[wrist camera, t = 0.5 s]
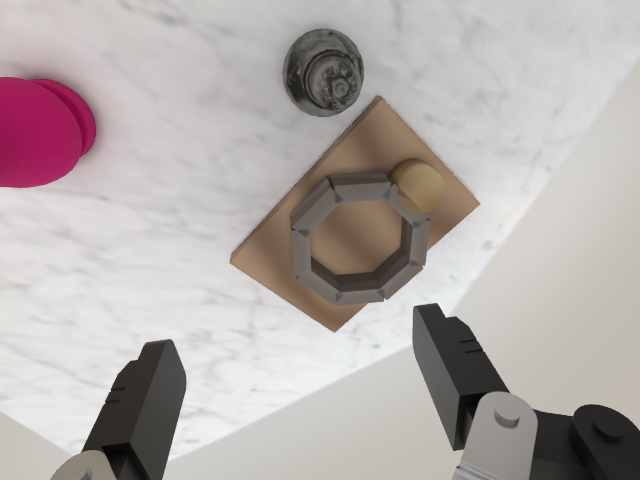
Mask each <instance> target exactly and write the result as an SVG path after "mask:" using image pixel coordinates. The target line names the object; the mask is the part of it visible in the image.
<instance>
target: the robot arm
mask: <svg viewBox="0 0 640 480" xmlns="http://www.w3.org/2000/svg"><path fill="white" fill-rule="evenodd" d="M413 349H414V353H415V357H416V360H417V362H418V365H419V367H420V370H421V372H422V375H423V377H424V380H425V382H426V384H427V387H428V389H429V392H430V394H431V397H432V399H433V402H434V404H435V407H436V409H437V412H438V414H439V417H440V419H441V422H442V424H443V427H444V429H445V432H446V434H447V436H448V439H449V441H450V444H451V447H452V449H453V451H456V450H462V449H464V452H463V455H462V458H461V461H460V464H459V466H457V467H456V469H455V472H454V474H453V478H452V480H640V431H639V429H638V428H637V427H636V426H635V425H634V424H633V423H632V422H631V421H630V420H629V419H628V418H626V417H625V416H624V415H622V414H621V413H619V412H617V411H615V410H613V409H611V408H608V407H605V406H601V405H594V404H593V405H592V404H591V405H590V404H589V405H584V406H581V407H579V408H578V409H577V410H576V411H575V413H574V415H573V416H566V415H560V414H553V413H546V412H541V411H538V410H535V409H532V408H531V407H530V405H529V404H527V403H526V402H525V401H524V400H522V399H521V398H519V397H517V396H515V395H513V394H511V393H510V392H509V390H508V389H507V387H506V386H505V384H504V382H503V381H502V379H501V378H500V376H499V374H498V373H497V371H496V369H495V368H494V366H493V365H492V363H491V362H490V360H489V358H488V357H487V355H486V353H485V352H483V349H482V347H481V346H480V344H479V342H478V341H477V340H476V337H475V336H474V334H473V333H472V331H471V329H470V328H469V326H467V325H466V324H465V323H464V322H462V321H461V320H459V319H458V318H457V317H448V318H446V317H445V315H444V314H443V312H442V310H441V308H440V307H439V305H438V304H437V303H433V304H426V305H419V306H414V308H413ZM185 391H186V374H185V370H184V368H183V365H182V363H181V360H180V358H179V355H178V352H177V350H176V347H175V345H174V343H173V341H172V340H171V339H168V340H160V341H153V342H147V343H146V344H145V345H144V346H143V349H142V351H141V353H140V356H139V358H138V360H134V361H130V362H129V363H128V364H127V365H126V366H125V367H124V368H123V369H122V371H121V372H120V373H119V374H118V375H117V377H116V379H115V382H114V384H113V386H112V388H111V392H109V394H108V396H107V399H106V401H105V404H104V405H103V407H102V409H101V411H100V413H99V416H98V418H97V420H96V422H95V424H94V426H93V428H92V430H91V433H90V435H89V437H88V439H87V441H86V443H85V445H84V447H83V450H82V451H81V453H79V454H77V455H75V456H73V457H72V458H70V459H69V460H68V461H66V462H65V463H64V464H63V465H62V466H61V467H60V468H59V469H58V470H57V471H56V472H55V473H54V475H53V476H52V478H51V480H162V478H163V474H164V470H165V467H166V463H167V459H168V455H169V452H170V448H171V444H172V440H173V436H174V433H175V429H176V425H177V421H178V418H179V414H180V410H181V406H182V402H183V399H184V395H185Z"/></svg>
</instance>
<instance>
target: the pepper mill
mask: <svg viewBox="0 0 640 480" xmlns="http://www.w3.org/2000/svg"><path fill="white" fill-rule="evenodd" d="M95 132H96V131H95V123H94V119H93V116H92V114H91V111H90V110H89V108H88V106H87V105H86V104H85V102H84V101H83V100H82V99H81V98H80V97H79V96H78V95H77V94H76V93H75V92H74V91H72V90H71V89H69V88H68V87H66V86H64V85H62V84H60V83H57V82H54V81H51V80H45V79H34V80H28V81H27V80H24V79H20V78H11V77H0V187H14V188H28V187H35V186H40V185H45V184H48V183H51V182H53V181H55V180H58V179H60V178H61V177H63V176H65V175H66V174H68V173H69V172H70V171H71V170H72V169H73V168H74V166H75V165H76V164H77V162H78V160H79V158H80V157H81V156H83V155H84V154H85V153H86V152H87V151H88V150H89V149H90V148H91V146H92V144H93V142H94V138H95Z"/></svg>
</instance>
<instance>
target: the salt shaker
mask: <svg viewBox="0 0 640 480" xmlns="http://www.w3.org/2000/svg"><path fill="white" fill-rule="evenodd" d="M363 77H364V67H363V62H362V58H361V55H360V53H359V51H358V49H357V47H356V45H355V44H354V43H353V42H352V41H351V40H350V39H349V38H348V37H347V36H345V35H343V34H342V33H340V32H338V31H335V30H331V29H316V30H313V31H310V32H307V33H305V34H304V35H303V36H301V37H300V38H298V39H297V40H296V41H295V43H294V44H293V45H292V46H291V48H290V49H289V51H288V53H287V56H286V58H285V62H284V67H283V80H284V85H285V88H286V91H287V94H288V95H289V97H290V99H291V100H292V102H293V103H294V104H295V105H296V106H297V107H298V108H299V109H300V110H302V111H304V112H306V113H308V114H309V115H313V116H318V117H329V116H333V115H336V114H339V113H341V112H342V111H344V110H345V109H347V108H348V107H350V106H351V105H352V104H353V103H354V102H355V101H356V100H357V98H358V96H359V94H360V90H361V86H362V83H363Z"/></svg>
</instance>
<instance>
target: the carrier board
mask: <svg viewBox="0 0 640 480" xmlns="http://www.w3.org/2000/svg"><path fill="white" fill-rule="evenodd" d="M479 205H480V203H479V202H478V200H477V199H476V198H475V197H474V196H473V195H472V194H471V193H470V192H469V191H468V190H467V189H466V188H465V187H464V185H463V184H462V183H461V182H460V181H459V180H458V179H457V178H456V177H455V176H454V175H453V174H452V173H451V171H450V170H449V169H448V168H447V167H446V166H445V165H444V164H443V163H442V162H441V161H440V160H439V159H438V157H437V156H436V155H435V154H434V153H433V152H432V151H431V150H430V149H429V148H428V147H427V146H426V145H425V143H424V142H423V141H422V140H421V139H420V138H419V137H418V136H417V135H416V134H415V133H414V132H413V131H412V130H411V128H410V127H409V126H408V125H407V124H406V123H405V122H404V121H403V120H402V119H401V118H400V117H399V116H398V114H397V113H396V112H395V111H394V110H393V109H392V108H391V107H390V106H389V105H388V104H387V103H386V102H385V100H384V99H383V98H381V97H379V96H378V97H377V98H376V99H375V100H374V101H373V102H372V103H371V104H370V105H369V107H368V108H367V109H366V110H365V111H364V112H363V113H362V114H361V115H360V116H359V117H358V118H357V119H356V121H355V122H354V123H353V124H352V125H351V126H350V127H349V128H348V129H347V130H346V131H345V132H344V134H343V135H342V136H341V137H340V138H339V139H338V140H337V141H336V142H335V143H334V144H333V145H332V147H331V148H330V149H329V150H328V151H327V152H326V153H325V154H324V155H323V156H322V157H321V158H320V160H319V161H318V162H317V163H316V164H315V165H314V166H313V167H312V168H311V169H310V170H309V171H308V173H307V174H306V175H305V176H304V177H303V178H302V179H301V180H300V181H299V182H298V183H297V184H296V185H295V187H294V188H293V189H292V190H291V191H290V192H289V193H288V194H287V195H286V196H285V197H284V198H283V200H282V201H281V202H280V203H279V204H278V205H277V206H276V207H275V208H274V209H273V210H272V211H271V213H270V214H269V215H268V216H267V217H266V218H265V219H264V220H263V221H262V222H261V223H260V224H259V226H258V227H257V228H256V229H255V230H254V231H253V232H252V233H251V234H250V235H249V236H248V237H247V239H246V240H245V241H244V242H243V243H242V244H241V245H240V246H239V247H238V248H237V249H236V250H235V251H234V253H233V254H232V255H231V258H230V264H232V265H233V266H235V267H236V268H238V269H239V270H241V271H242V272H244V273H245V274H247V275H248V276H250V277H251V278H253V279H254V280H256V281H257V282H259V283H260V284H262V285H263V286H265V287H266V288H268V289H269V290H271V291H272V292H274V293H275V294H277V295H278V296H280V297H281V298H283V299H284V300H286V301H287V302H289V303H290V304H292V305H293V306H295V307H296V308H298V309H299V310H301V311H302V312H304V313H305V314H307V315H308V316H310V317H311V318H313V319H314V320H316V321H317V322H319V323H320V324H322V325H323V326H325V327H326V328H328V329H329V330H331V331H332V332H334V333H335V332H336V331H337V330H338V329H340V328H341V327H342V326H343V325H344V324H345V323H346V322H347V321H349V320H350V319H351V318H352V317H353V316H354V315H355V314H356V313H358V312H359V311H360V310H361V309H362V308H363V307H364V306H366V305H367V304H368V303H373V302H384V298H385V299H386V300H388V299H389V298H390V297H391V296H392V295H394V294H395V293H396V292H397V291H398V290H399V289H400V288H402V287H403V286H404V285H405V284H406V283H407V282H409V281H410V280H411V279H412V278H413V277H414V276H415V275H417V274H418V273H419V272H420V271H421V270H422V269H423V267H422V266H425V262H426V254H427V251H428V250H429V249H430V248H431V247H432V246H433V245H435V244H436V243H437V242H438V241H439V240H440V239H441V238H442V237H444V236H445V235H446V234H447V233H448V232H449V231H450V230H452V229H453V228H454V227H455V226H456V225H457V224H458V223H459V222H461V221H462V220H463V219H464V218H465V217H466V216H467V215H468V214H470V213H471V212H472V211H473V210H474V209H475V208H476V207H478V206H479Z"/></svg>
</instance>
